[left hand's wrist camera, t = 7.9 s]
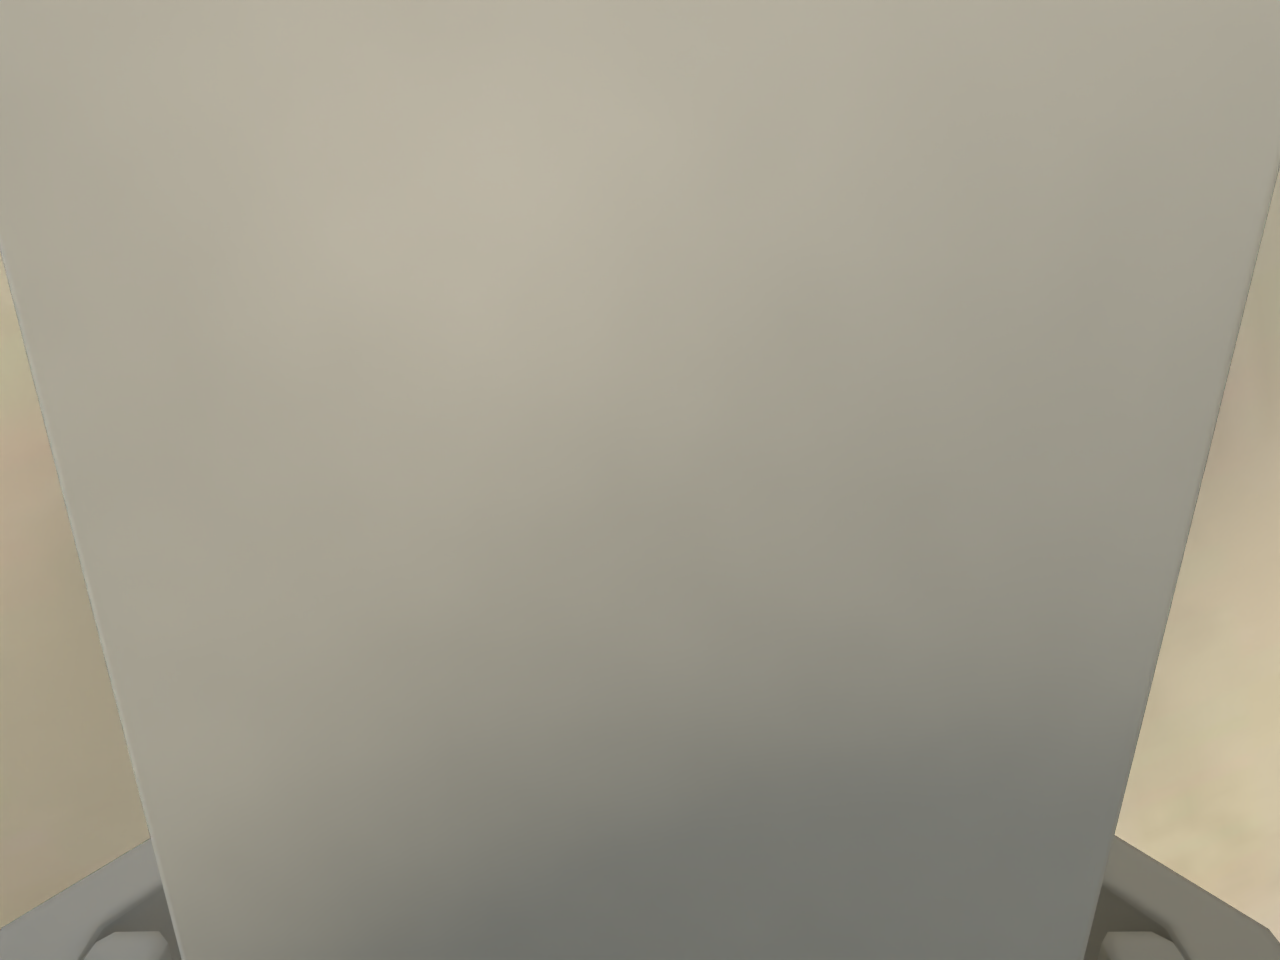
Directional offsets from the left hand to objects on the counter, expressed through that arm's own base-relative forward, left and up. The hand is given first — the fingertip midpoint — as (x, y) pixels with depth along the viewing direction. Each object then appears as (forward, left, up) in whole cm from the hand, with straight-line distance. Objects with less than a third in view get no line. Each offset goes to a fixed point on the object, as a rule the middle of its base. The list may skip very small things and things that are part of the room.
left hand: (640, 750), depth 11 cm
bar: (+10, 0, -3) cm, 10 cm away
